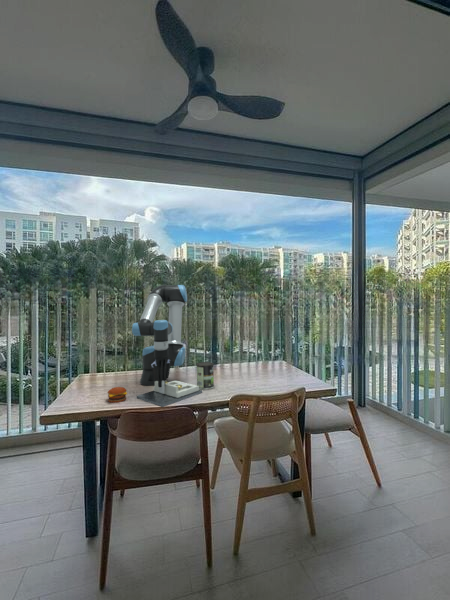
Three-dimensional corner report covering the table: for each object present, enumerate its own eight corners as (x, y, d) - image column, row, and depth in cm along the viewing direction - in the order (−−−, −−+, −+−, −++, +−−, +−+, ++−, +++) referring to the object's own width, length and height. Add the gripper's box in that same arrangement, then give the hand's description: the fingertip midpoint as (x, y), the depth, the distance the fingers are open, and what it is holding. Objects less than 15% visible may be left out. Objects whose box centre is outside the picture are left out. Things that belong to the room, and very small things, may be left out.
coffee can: (215, 385, 187) (215, 362, 186) (211, 390, 176) (211, 365, 176) (199, 384, 189) (199, 361, 188) (194, 389, 179) (194, 365, 178)
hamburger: (110, 404, 155) (109, 391, 155) (106, 399, 163) (106, 387, 163) (128, 400, 160) (128, 388, 160) (124, 396, 168) (124, 384, 168)
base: (136, 398, 164) (136, 386, 164) (176, 385, 186) (175, 375, 186) (162, 406, 150) (162, 394, 150) (202, 392, 172) (202, 381, 172)
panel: (153, 390, 172) (153, 381, 172) (175, 384, 184) (175, 375, 184) (177, 397, 159) (177, 387, 159) (198, 390, 171) (198, 380, 171)
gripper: (155, 351, 156) (156, 397, 156) (175, 347, 166) (175, 391, 166) (146, 350, 161) (147, 394, 161) (166, 346, 171) (167, 388, 171)
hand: (162, 392), depth 164 cm, fingers closed
